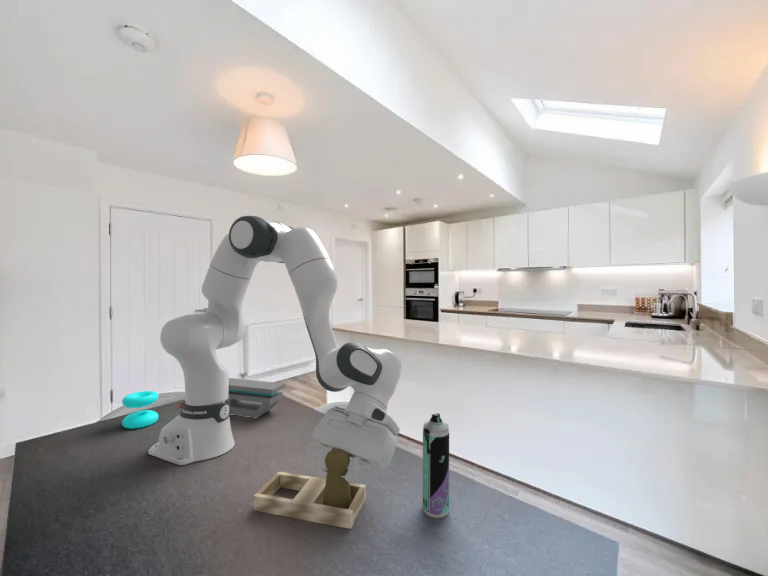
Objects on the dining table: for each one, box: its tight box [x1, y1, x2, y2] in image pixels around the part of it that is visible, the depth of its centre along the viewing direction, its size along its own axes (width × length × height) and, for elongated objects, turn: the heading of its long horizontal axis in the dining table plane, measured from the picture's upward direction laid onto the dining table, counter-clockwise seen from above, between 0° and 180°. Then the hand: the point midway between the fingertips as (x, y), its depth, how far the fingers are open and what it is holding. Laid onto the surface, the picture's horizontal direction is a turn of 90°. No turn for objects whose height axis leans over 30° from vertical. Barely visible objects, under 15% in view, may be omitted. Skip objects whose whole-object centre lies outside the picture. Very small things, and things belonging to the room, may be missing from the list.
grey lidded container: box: [229, 377, 286, 418], centre depth 123 cm, size 25×8×11 cm, turn 74°
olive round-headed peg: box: [323, 449, 352, 509], centre depth 70 cm, size 6×6×11 cm
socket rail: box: [253, 471, 367, 530], centre depth 71 cm, size 22×10×3 cm, turn 76°
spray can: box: [422, 412, 450, 519], centre depth 70 cm, size 6×6×20 cm
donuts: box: [121, 390, 160, 430], centre depth 113 cm, size 10×10×10 cm
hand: (335, 475), depth 69 cm, fingers closed on olive round-headed peg, 4 cm apart
